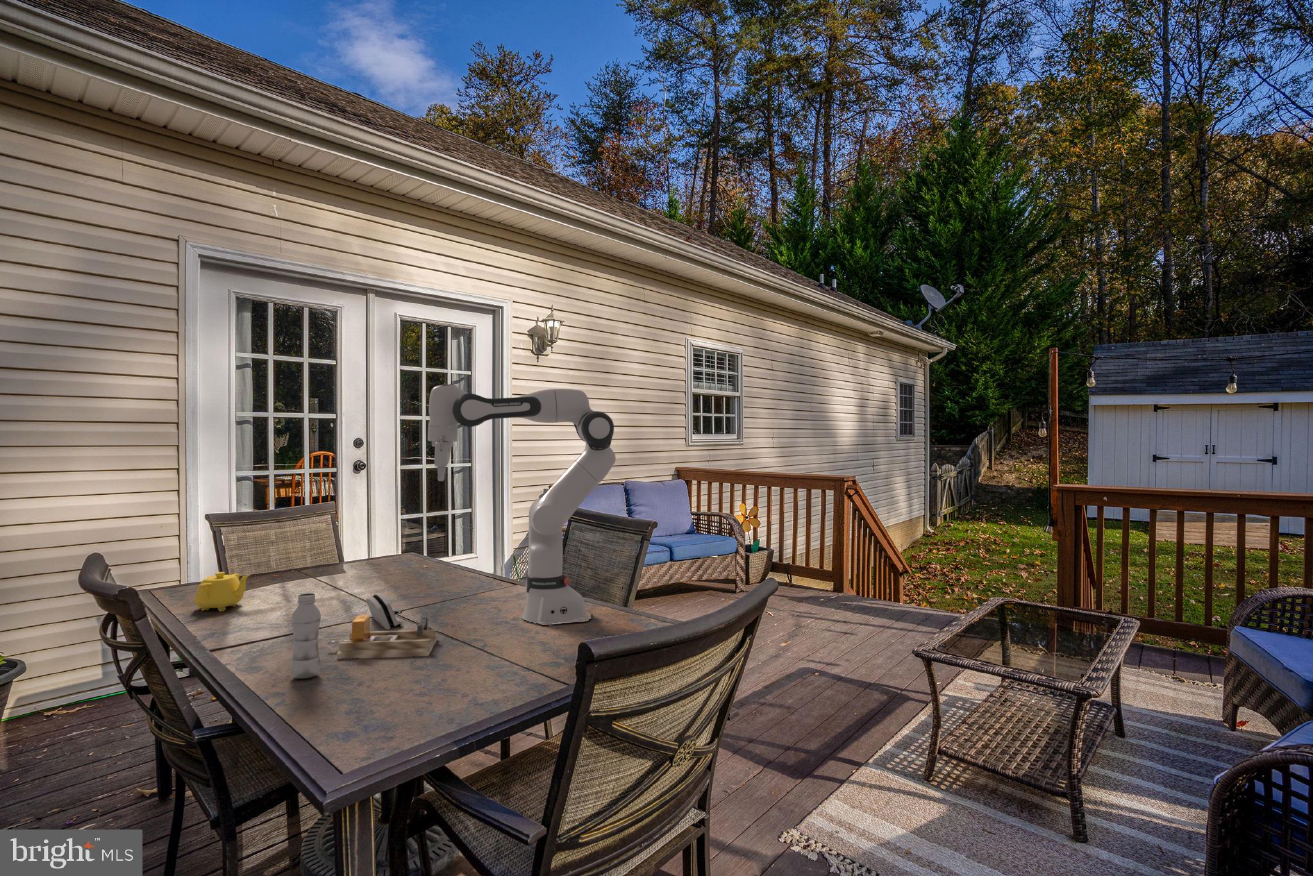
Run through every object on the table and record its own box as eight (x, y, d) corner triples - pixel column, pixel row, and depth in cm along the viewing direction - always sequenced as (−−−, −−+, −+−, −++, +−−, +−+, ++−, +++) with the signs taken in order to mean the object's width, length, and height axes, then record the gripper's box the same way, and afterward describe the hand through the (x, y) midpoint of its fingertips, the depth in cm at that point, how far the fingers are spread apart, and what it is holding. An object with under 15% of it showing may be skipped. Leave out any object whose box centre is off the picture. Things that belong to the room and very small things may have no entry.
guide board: (437, 639, 186) (437, 627, 186) (428, 656, 172) (428, 643, 172) (352, 642, 182) (353, 629, 182) (336, 659, 168) (337, 646, 168)
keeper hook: (428, 634, 186) (428, 617, 186) (422, 643, 178) (423, 625, 178) (421, 634, 185) (422, 617, 185) (416, 643, 177) (416, 625, 177)
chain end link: (398, 638, 181) (398, 614, 181) (392, 647, 174) (392, 621, 173) (331, 640, 178) (331, 615, 178) (322, 649, 171) (322, 623, 171)
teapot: (199, 616, 203) (200, 579, 203) (190, 607, 213) (190, 572, 213) (250, 608, 213) (250, 573, 213) (239, 600, 223) (239, 566, 223)
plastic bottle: (299, 684, 151) (301, 599, 151) (284, 678, 155) (285, 595, 155) (326, 676, 156) (327, 594, 156) (310, 670, 160) (312, 590, 160)
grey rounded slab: (403, 627, 197) (392, 598, 195) (388, 634, 194) (377, 605, 192) (388, 614, 210) (377, 587, 208) (373, 621, 207) (363, 593, 205)
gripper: (452, 436, 192) (451, 482, 192) (453, 435, 212) (452, 477, 212) (430, 435, 190) (429, 482, 190) (433, 435, 210) (432, 477, 210)
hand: (441, 479), depth 201 cm, fingers open, 8 cm apart
